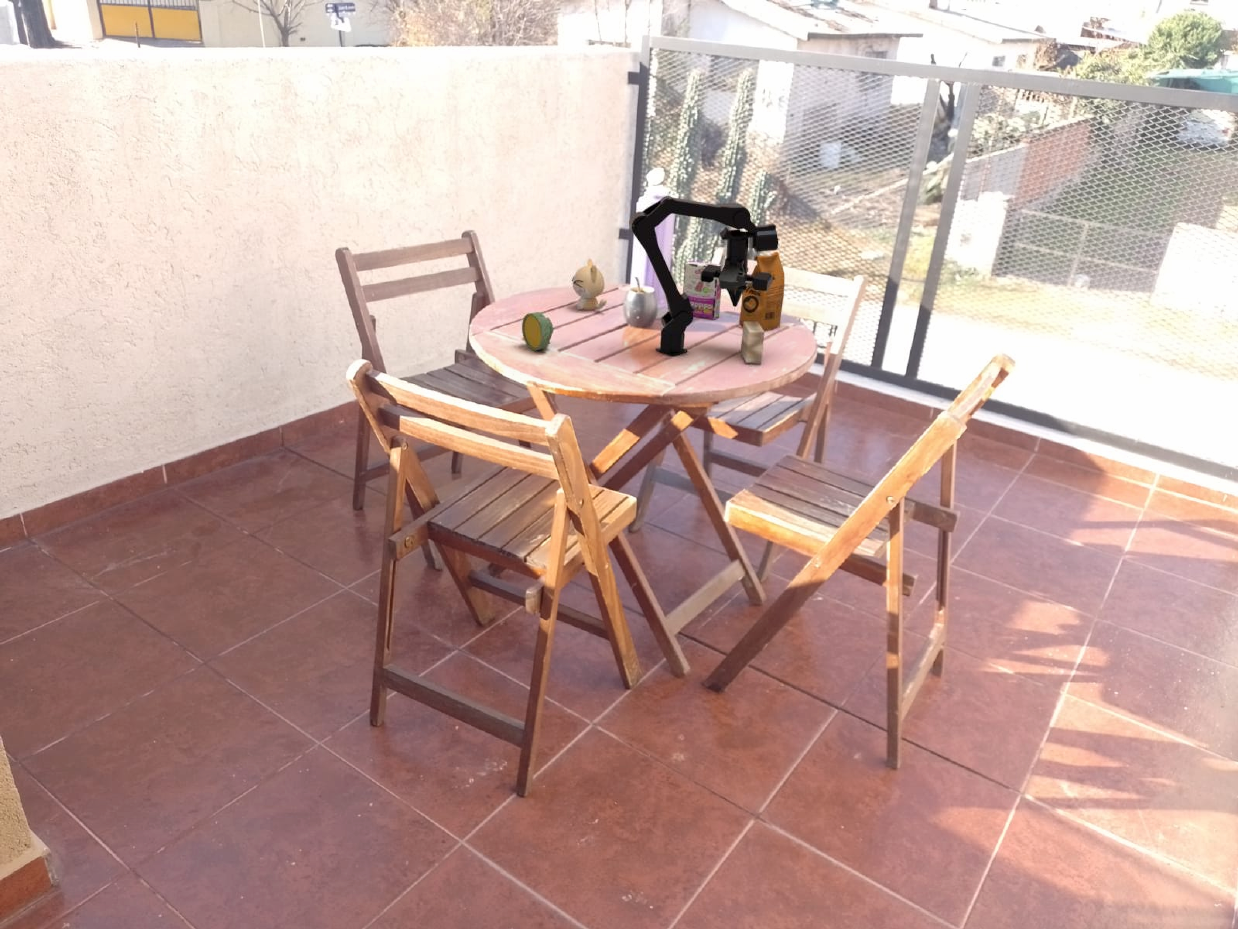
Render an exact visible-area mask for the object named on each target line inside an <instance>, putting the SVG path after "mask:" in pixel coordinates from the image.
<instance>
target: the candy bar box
mask: <svg viewBox="0 0 1238 929" xmlns="http://www.w3.org/2000/svg"><path fill="white" fill-rule="evenodd" d="M708 264H709V265H716V266H720V267H721V271H722V270H723V267H724V264H716V263H709V262H702V261H694V260H690V261H687V262H685V263H684V271H683V287H682V288H683V289H682V294H683V293H684V292H685V293H686V294H687V296H688V297H689V300H690V304H691V305H692V307H693V309H694V310H695V311H692V312H693V315H694V318H698V319H699V318H700V319H704V320H705V319H706V320H711V321H714V320H716V319H718V318H719V317H720V312H721V310H720V309H721V300H722V298H721V296H722V289H721V288H720V286H719V278H715V277H714V280H713V281H712V282H711V283H708V282H702V281H701V280H700V275H701V272H702V271H703V269H704V268H705V267H706V266H707V265H708Z"/></svg>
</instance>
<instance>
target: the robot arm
mask: <svg viewBox="0 0 1238 929" xmlns="http://www.w3.org/2000/svg"><path fill="white" fill-rule="evenodd" d="M671 214H672V215H678V216H686V217H691V218H696V219H703V220H710V221H714V222H717V223H720V224H723V225H724V226H727V227H724V229H723V230H721V231H720V232H719V233H718V234H719V236H720V239H721V240H723V241H726V255H725V256H726V257H725V259H724V264H723V270H722V271H721V267H720V266H716V265H709V264H708V265H707V266H706V267H705V268H704V269H703V271H702V272H701V275H700V280H701V281H702V282H708V283H711V282H712V281H713V280H714V277H715V278H719V286H720V288H721V290H726V291H727V293H728V295H729V298H730V302H731V304H732V306H733V307H737V306H738V304H739V302H740V299H742V293H743V291H744V290H747V288H748V287H749V286H750V284H751V283H752V287H753V288H754V289H755V290H760V291H767V290H768V288H769V287H770V285H771V284H772V281H773V277H772V275H771V273H764V272H758V273H757V274H756V276H752V275H751V274H749V273H748V272H749V267H748V262H749V257H750V252H749V247H750V248H751V249H753V251H754V252H755V253H760V252H771V251H773V252H774V251H778V248H779V237H778V232H777V225H776V224H775V223H769V224H765V225H764V224H763V225H756V224H755V223H754V222H753V221H752V219H751V212H750V211H749V209H748V208H747V207H745V206H744V205H742V204H741V203H739V202H725V203H724V202H723V203H708V202H703V201H697V200H690V199H683V198H677V197H673V196H670V195H665V196H663V197H662V198H661V199H659V200H658V201H657V202H655V203H653V204H651V205H650V206H648V207H646V208H645V209H644V210H642V211H636V212H634V213H633V214H632V215H631V216H630V218H629V221H628V225H629V228H630V230H631V231H632V234H633V235H634V237H635V238H636V240H637V241H638V242H639V244H640V245H641V247H642V248H643V250H644V251H645V254H646V255H647V257H648V258H647V259H648V260H649V262H650V264H651V267H652V269H653V270H654V273H655V276H656V278H657V280H658V282H659V283H660V284H659V285H660V287H661V289H662V291H663V293H664V296H665V300H666V301H665V302H666V306H667V310H668V311H667V312H666V313H664V315H663V316H661V317H660V321H661V325H662V326H663V328H662V329H661V330H660V343H659V344H660V346H659V347H658V348H655V351H656V352H659V353H663V354H666V355H669V356H673V357H674V356H678V355H680V354H681V355H682V354H684V353H687V352H688V349H686V348H685V338H686V336H685V332H686V330H687V327H688V326H690V325H691V324H692V323H693V320H694V318H695V317H694V315H693V312H692V311H695V310H694V309H693V307H692V305H691V304H690V300H689V297H688V296H687V294H686V293H685V292H684V293H683V292H682V293H680V291H679V288H678V287H677V285H676V282H675V280H674V277H673V275H672V273H671V271H670V269H669V266H668V264H667V262H666V259H665V257H664V255H663V253H662V251H661V248H660V246H659V242H658V238H657V232H656V227H658V226H659V225H660V224H662V222H664V221H665V220H666V219H667V218H668V217H669V216H670V215H671ZM728 227H730V228H733V229H729V228H728ZM742 230H743V231H742Z"/></svg>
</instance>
